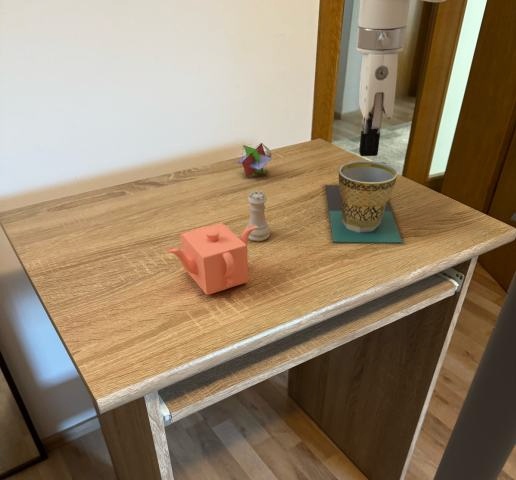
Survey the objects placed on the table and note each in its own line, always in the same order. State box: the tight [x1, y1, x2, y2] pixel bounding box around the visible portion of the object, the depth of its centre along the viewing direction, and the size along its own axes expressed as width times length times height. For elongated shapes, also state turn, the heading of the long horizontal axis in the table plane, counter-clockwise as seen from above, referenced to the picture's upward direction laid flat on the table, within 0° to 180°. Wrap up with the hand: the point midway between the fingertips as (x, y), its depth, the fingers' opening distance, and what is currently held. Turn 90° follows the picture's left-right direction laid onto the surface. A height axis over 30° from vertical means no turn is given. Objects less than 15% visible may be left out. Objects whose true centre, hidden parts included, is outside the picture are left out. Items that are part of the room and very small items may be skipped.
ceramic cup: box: [338, 160, 398, 233], centre depth 88 cm, size 13×10×10 cm
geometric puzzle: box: [237, 142, 273, 179], centre depth 107 cm, size 7×7×8 cm
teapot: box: [165, 222, 257, 296], centre depth 75 cm, size 12×15×8 cm
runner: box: [325, 184, 403, 244], centre depth 95 cm, size 12×24×1 cm, turn 177°
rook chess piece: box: [245, 190, 271, 242], centre depth 85 cm, size 4×4×8 cm
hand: (368, 154), depth 90 cm, fingers closed
